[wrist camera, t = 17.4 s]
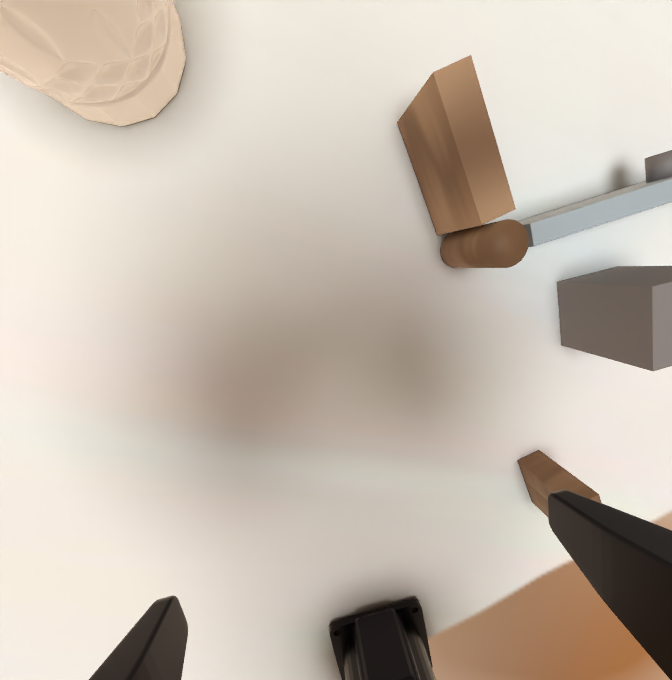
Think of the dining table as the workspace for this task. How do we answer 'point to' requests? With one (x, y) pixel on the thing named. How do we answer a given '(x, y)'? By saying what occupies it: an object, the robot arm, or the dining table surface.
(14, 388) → the dining table surface
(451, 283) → the dining table surface
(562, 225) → the door
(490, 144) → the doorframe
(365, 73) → the dining table surface
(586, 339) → the block
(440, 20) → the dining table surface
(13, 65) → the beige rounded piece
